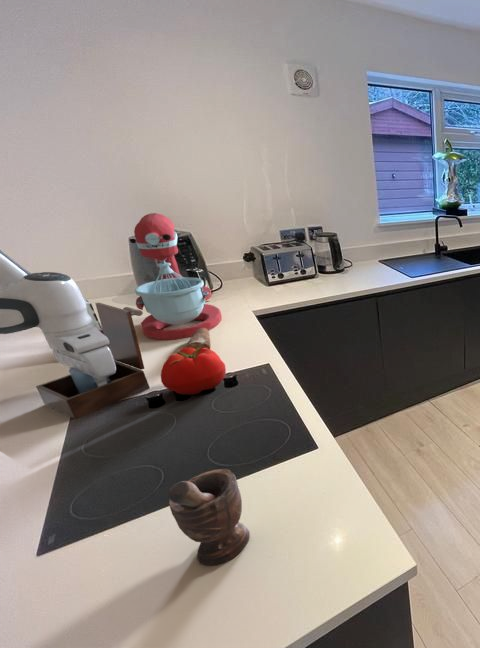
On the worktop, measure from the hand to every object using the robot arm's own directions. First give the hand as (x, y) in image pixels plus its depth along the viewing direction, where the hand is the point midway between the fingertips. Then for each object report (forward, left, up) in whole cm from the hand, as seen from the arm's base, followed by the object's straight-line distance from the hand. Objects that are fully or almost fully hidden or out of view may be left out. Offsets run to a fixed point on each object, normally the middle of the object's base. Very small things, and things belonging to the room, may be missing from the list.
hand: (94, 383), depth 104 cm
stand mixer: (+40, +33, -5) cm, 52 cm away
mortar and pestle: (-16, -74, -5) cm, 76 cm away
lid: (+8, 0, +10) cm, 13 cm away
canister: (0, 0, -4) cm, 4 cm away
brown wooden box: (0, 0, -5) cm, 5 cm away
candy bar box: (+12, +36, -5) cm, 38 cm away
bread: (+30, +8, -5) cm, 31 cm away
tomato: (+14, -18, -5) cm, 23 cm away
